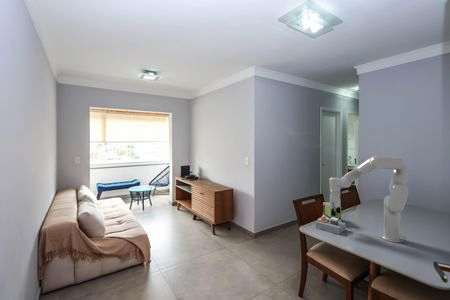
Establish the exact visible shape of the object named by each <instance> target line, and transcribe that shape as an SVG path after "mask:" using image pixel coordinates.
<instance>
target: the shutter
mask: <svg viewBox="0 0 450 300" xmlns="http://www.w3.org/2000/svg"><path fill="white" fill-rule="evenodd" d="M329 220H330V219H326V216H325V215H324V216H323V215H322V216H321V217H319V218H318V219H317V220H316V221H322V222H325V223H326V222H328V221H329Z"/></svg>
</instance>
